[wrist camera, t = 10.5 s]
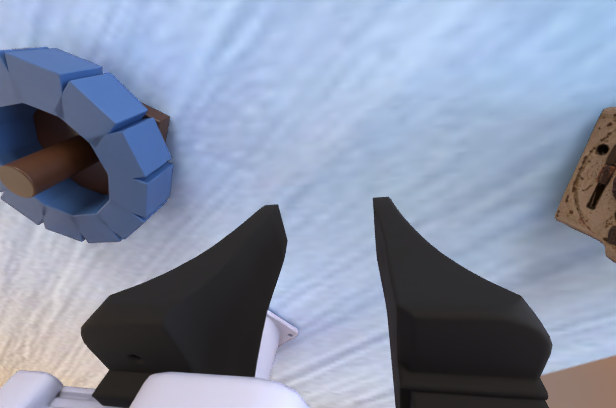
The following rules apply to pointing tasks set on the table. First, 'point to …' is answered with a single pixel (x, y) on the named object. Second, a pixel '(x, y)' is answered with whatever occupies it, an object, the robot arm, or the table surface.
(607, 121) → the mechanical counter
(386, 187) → the table surface
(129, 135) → the ring
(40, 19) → the table surface
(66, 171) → the brown peg stand
